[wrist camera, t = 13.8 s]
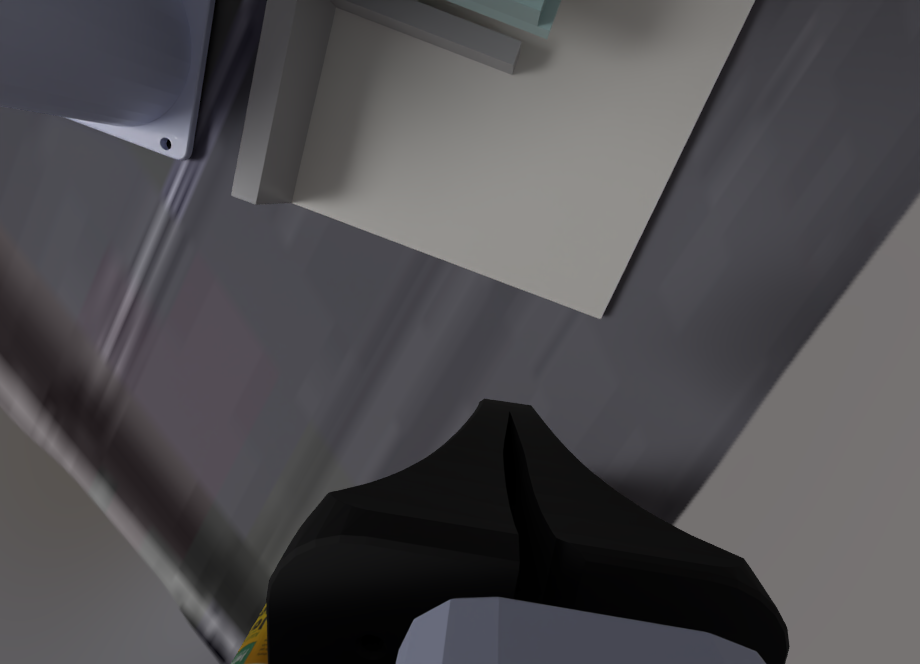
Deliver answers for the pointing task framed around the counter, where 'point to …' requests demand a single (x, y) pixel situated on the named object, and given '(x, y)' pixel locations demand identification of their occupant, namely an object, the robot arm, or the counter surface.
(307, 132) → the housing
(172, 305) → the counter surface
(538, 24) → the cover
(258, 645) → the supplement bottle
